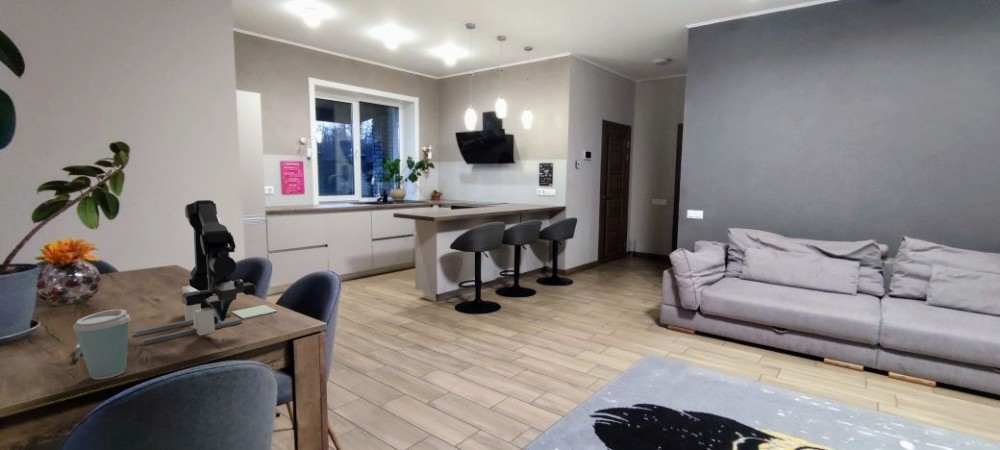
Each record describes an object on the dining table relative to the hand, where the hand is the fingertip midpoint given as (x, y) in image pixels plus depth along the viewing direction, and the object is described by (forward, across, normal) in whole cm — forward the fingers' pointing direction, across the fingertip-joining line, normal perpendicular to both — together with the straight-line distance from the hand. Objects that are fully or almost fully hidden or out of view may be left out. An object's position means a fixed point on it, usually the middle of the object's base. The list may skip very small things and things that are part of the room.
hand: (222, 320), depth 140 cm
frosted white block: (+2, -5, +9) cm, 10 cm away
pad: (+4, +15, +16) cm, 22 cm away
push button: (+4, +2, +13) cm, 14 cm away
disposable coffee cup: (+4, -29, -11) cm, 31 cm away
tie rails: (+4, -6, +13) cm, 15 cm away
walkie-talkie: (+5, -28, +14) cm, 31 cm away
